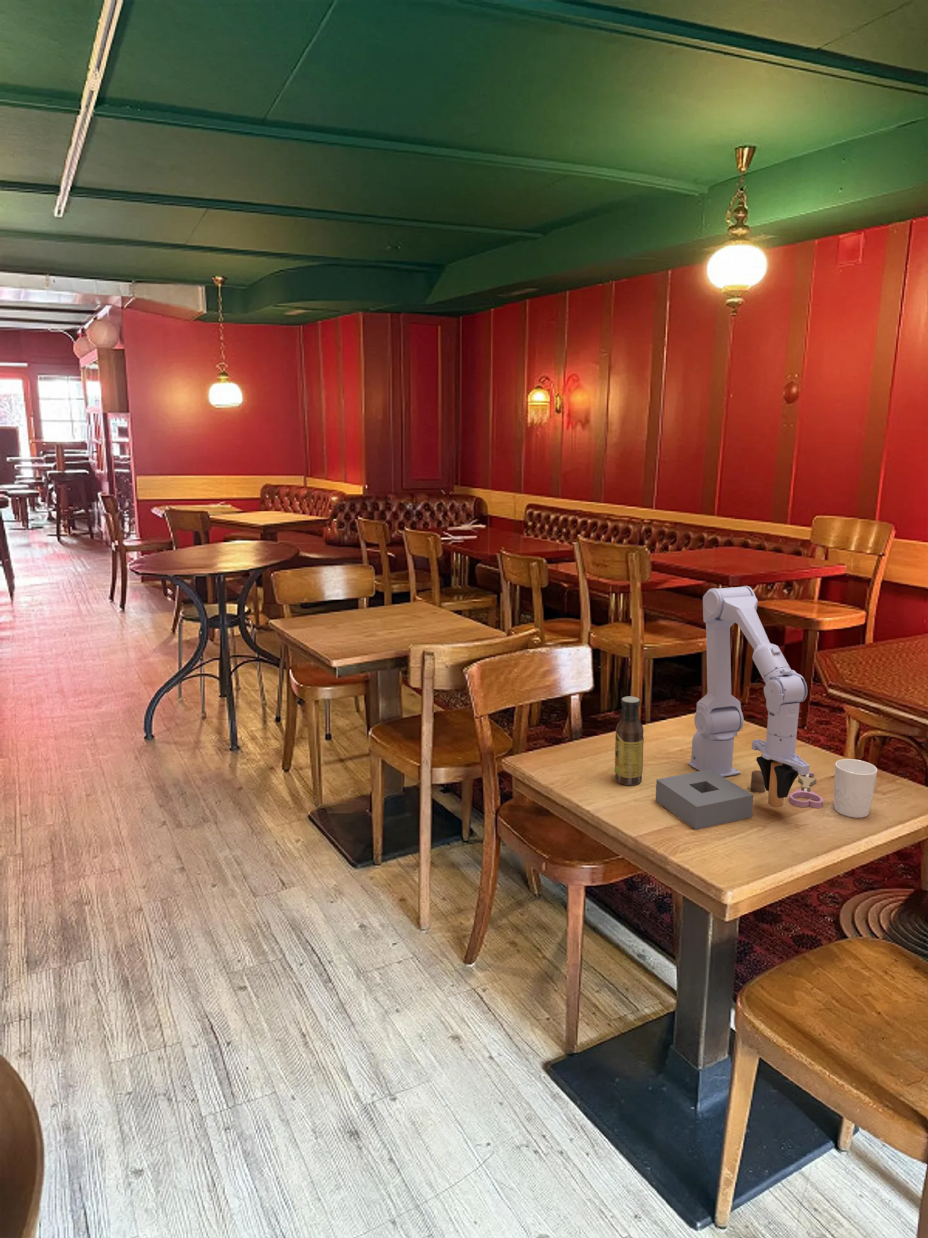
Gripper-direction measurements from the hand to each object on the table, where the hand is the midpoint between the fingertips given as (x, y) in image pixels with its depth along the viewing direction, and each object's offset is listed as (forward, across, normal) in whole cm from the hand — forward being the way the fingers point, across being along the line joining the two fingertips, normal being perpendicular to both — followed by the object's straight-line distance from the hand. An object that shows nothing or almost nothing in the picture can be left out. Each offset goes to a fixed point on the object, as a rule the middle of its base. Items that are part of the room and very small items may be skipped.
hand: (776, 793), depth 169 cm
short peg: (+4, -10, +4) cm, 12 cm away
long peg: (+2, 0, 0) cm, 2 cm away
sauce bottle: (+5, -25, -20) cm, 32 cm away
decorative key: (+4, -5, +16) cm, 18 cm away
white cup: (+4, +6, +15) cm, 17 cm away
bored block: (+4, -7, -13) cm, 15 cm away
